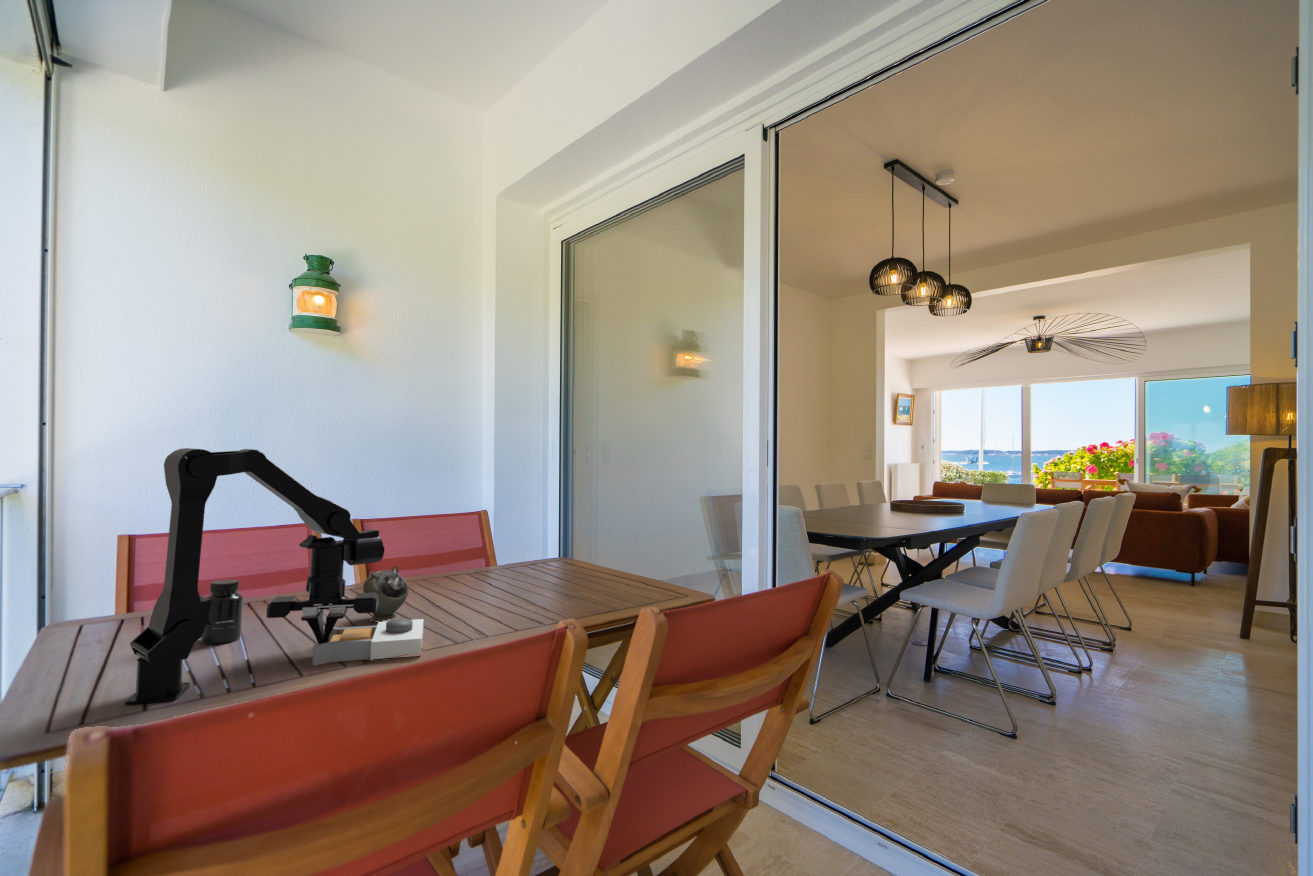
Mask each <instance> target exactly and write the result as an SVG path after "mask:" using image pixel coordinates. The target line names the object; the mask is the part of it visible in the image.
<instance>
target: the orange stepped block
mask: <svg viewBox="0 0 1313 876" xmlns="http://www.w3.org/2000/svg"><path fill="white" fill-rule="evenodd" d="M371 635H372V628H358V629H345V630H344V632H343V634H341V635H333V637H332V638H331V640H330V642H331V643H332V642H333V641H348V640H363V639H371Z"/></svg>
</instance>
